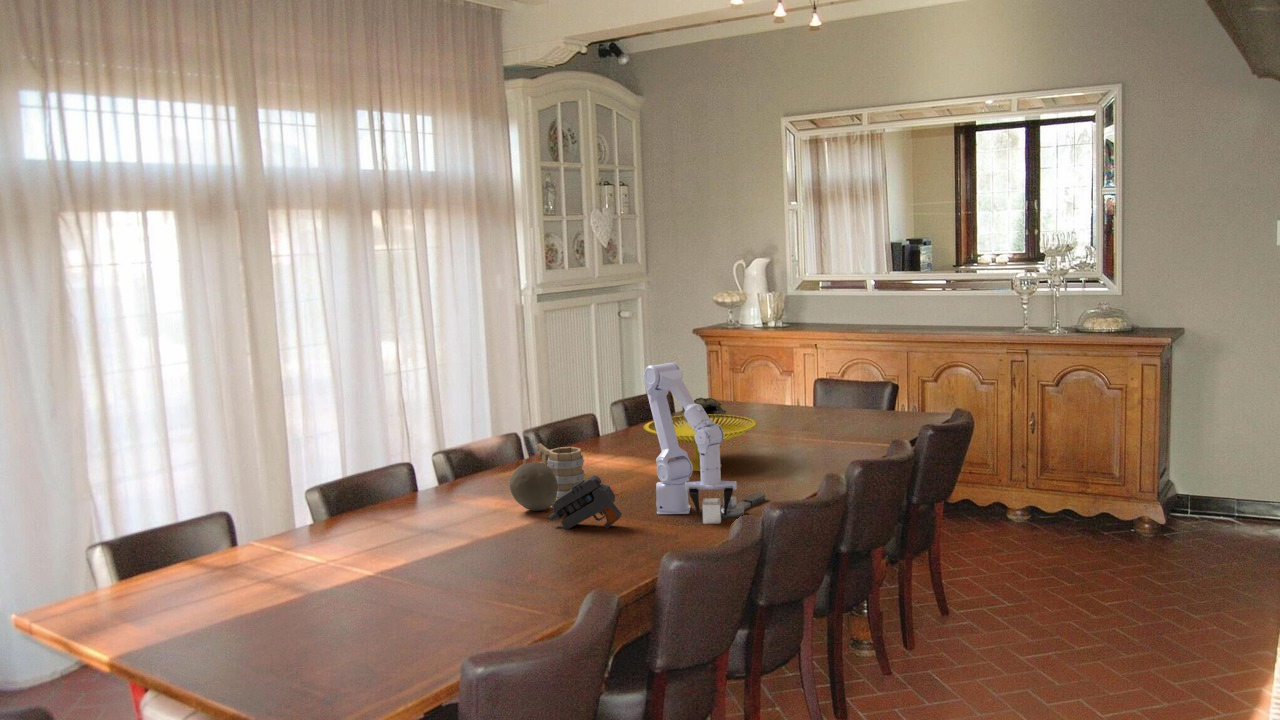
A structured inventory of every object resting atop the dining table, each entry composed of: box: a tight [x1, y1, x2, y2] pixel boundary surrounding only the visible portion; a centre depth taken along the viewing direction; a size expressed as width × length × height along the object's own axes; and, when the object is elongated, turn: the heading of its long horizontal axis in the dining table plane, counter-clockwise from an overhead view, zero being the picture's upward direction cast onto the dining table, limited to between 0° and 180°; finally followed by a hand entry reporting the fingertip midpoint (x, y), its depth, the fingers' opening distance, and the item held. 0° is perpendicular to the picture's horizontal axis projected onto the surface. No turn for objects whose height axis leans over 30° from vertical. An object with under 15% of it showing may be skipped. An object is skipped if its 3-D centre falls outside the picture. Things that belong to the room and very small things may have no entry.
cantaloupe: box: [509, 461, 558, 512], centre depth 312 cm, size 14×14×15 cm
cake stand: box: [643, 414, 759, 472], centre depth 361 cm, size 40×40×15 cm
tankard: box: [534, 442, 586, 499], centre depth 336 cm, size 20×13×15 cm, turn 47°
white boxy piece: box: [701, 497, 722, 525], centre depth 294 cm, size 5×5×6 cm
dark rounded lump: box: [678, 397, 727, 427], centre depth 425 cm, size 28×13×15 cm
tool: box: [548, 474, 623, 530], centre depth 294 cm, size 6×19×15 cm, turn 78°
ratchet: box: [721, 492, 766, 519], centre depth 306 cm, size 22×8×5 cm, turn 144°
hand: (711, 514), depth 294 cm, fingers open, 7 cm apart
